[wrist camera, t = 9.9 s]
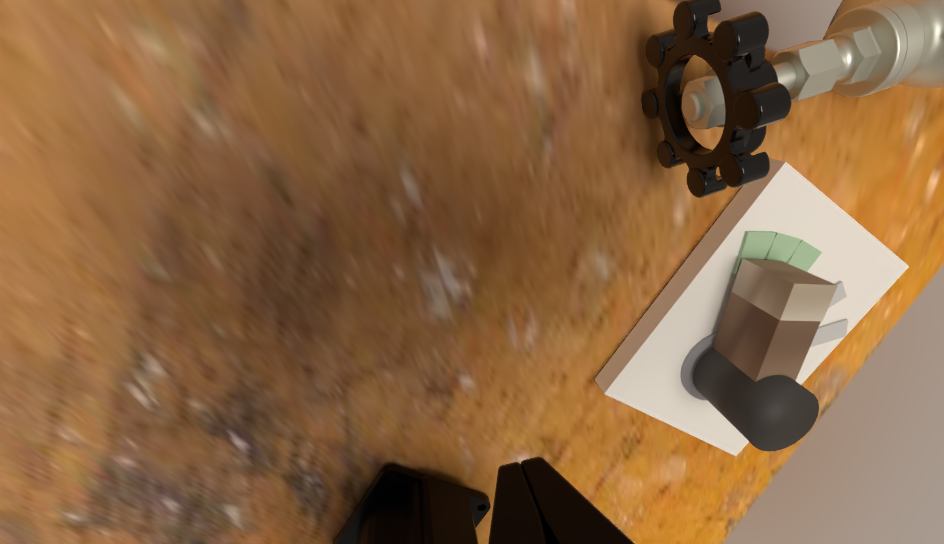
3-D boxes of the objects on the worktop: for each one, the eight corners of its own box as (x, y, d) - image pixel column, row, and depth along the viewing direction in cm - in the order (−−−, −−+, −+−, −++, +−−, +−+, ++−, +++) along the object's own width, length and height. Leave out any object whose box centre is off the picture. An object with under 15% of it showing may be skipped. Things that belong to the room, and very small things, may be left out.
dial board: (721, 441, 27) (738, 458, 25) (594, 379, 23) (606, 396, 22) (884, 258, 24) (913, 267, 22) (764, 157, 20) (789, 162, 19)
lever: (740, 396, 23) (802, 449, 20) (685, 396, 23) (738, 452, 19) (792, 261, 21) (873, 295, 17) (731, 257, 20) (802, 293, 17)
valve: (915, -73, 18) (630, 16, 17) (1182, -155, 12) (757, -22, 11) (897, 100, 20) (649, 181, 20) (1108, 105, 14) (761, 221, 14)
